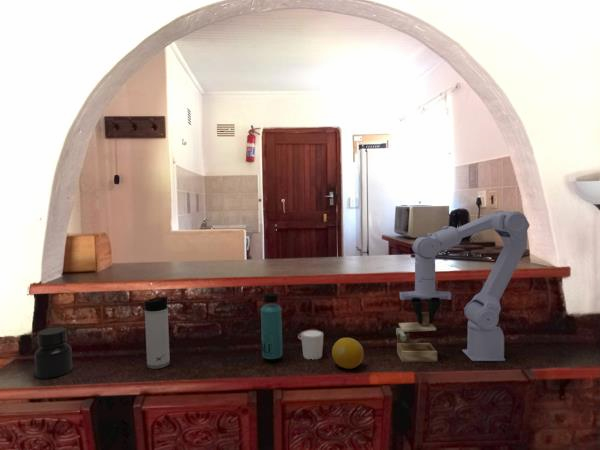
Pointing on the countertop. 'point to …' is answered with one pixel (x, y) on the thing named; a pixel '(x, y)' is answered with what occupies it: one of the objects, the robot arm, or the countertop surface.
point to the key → (401, 334)
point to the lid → (418, 325)
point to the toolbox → (415, 351)
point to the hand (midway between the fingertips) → (425, 323)
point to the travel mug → (157, 332)
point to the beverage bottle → (271, 328)
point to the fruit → (347, 353)
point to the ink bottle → (53, 353)
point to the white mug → (312, 344)
